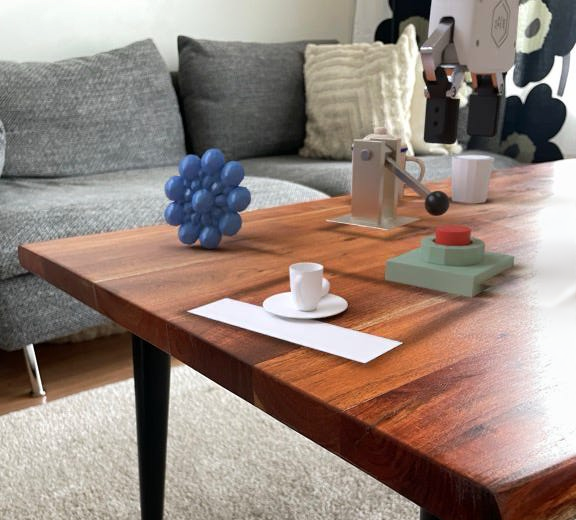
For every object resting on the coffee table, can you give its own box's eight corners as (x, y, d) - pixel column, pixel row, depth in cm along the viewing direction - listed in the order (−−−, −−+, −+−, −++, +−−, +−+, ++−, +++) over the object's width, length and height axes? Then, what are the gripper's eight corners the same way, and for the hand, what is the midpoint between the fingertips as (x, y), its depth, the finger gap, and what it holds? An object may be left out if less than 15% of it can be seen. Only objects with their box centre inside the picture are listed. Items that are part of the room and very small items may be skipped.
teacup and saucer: (303, 289, 73) (303, 250, 72) (368, 304, 69) (370, 263, 67) (245, 311, 67) (244, 268, 66) (312, 329, 63) (313, 284, 61)
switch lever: (445, 219, 95) (458, 199, 93) (433, 223, 93) (447, 202, 91) (370, 156, 99) (381, 135, 97) (357, 158, 97) (368, 137, 95)
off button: (475, 244, 76) (477, 227, 75) (460, 250, 74) (461, 233, 73) (444, 239, 78) (446, 223, 77) (428, 245, 76) (430, 228, 75)
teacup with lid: (345, 205, 116) (347, 129, 111) (353, 196, 124) (356, 124, 119) (420, 208, 113) (426, 130, 108) (424, 198, 121) (430, 125, 116)
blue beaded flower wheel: (264, 244, 92) (263, 146, 87) (244, 257, 86) (241, 152, 81) (182, 237, 95) (177, 142, 90) (157, 249, 89) (150, 148, 84)
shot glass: (444, 196, 123) (448, 154, 120) (485, 196, 123) (489, 154, 120) (451, 204, 117) (455, 159, 114) (493, 204, 117) (499, 159, 114)
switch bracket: (420, 227, 101) (427, 138, 96) (387, 238, 94) (392, 144, 90) (361, 218, 107) (364, 134, 102) (325, 228, 100) (327, 139, 95)
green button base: (512, 275, 78) (517, 239, 76) (471, 297, 71) (476, 258, 69) (429, 261, 84) (432, 227, 82) (384, 280, 77) (386, 243, 75)
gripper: (477, -82, 56) (455, 150, 63) (556, -57, 69) (531, 135, 76) (394, -72, 60) (382, 144, 68) (483, -50, 73) (465, 131, 80)
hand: (461, 139), depth 72 cm, fingers open, 8 cm apart
